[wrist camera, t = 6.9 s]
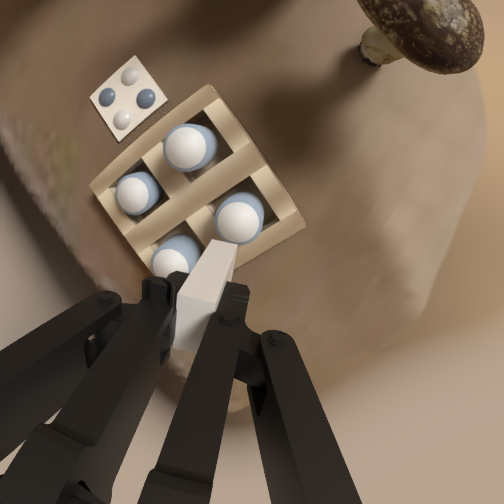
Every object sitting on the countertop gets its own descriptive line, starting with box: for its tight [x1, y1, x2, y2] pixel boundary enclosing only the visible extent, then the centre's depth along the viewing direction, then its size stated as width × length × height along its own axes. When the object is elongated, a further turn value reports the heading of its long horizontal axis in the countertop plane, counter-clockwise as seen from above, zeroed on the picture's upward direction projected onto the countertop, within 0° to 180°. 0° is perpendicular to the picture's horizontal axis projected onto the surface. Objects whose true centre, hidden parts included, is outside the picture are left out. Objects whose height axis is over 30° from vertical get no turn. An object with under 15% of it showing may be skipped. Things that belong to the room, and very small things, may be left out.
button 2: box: [163, 124, 218, 172], centre depth 25 cm, size 4×4×4 cm
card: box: [90, 55, 168, 142], centre depth 27 cm, size 7×7×1 cm
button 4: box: [214, 191, 264, 245], centre depth 27 cm, size 4×4×4 cm
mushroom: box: [357, 0, 484, 75], centre depth 17 cm, size 9×9×15 cm
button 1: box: [116, 170, 164, 215], centre depth 29 cm, size 4×4×4 cm
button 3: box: [151, 234, 201, 278], centre depth 29 cm, size 4×4×4 cm
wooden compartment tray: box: [89, 84, 306, 277], centre depth 30 cm, size 16×16×3 cm
